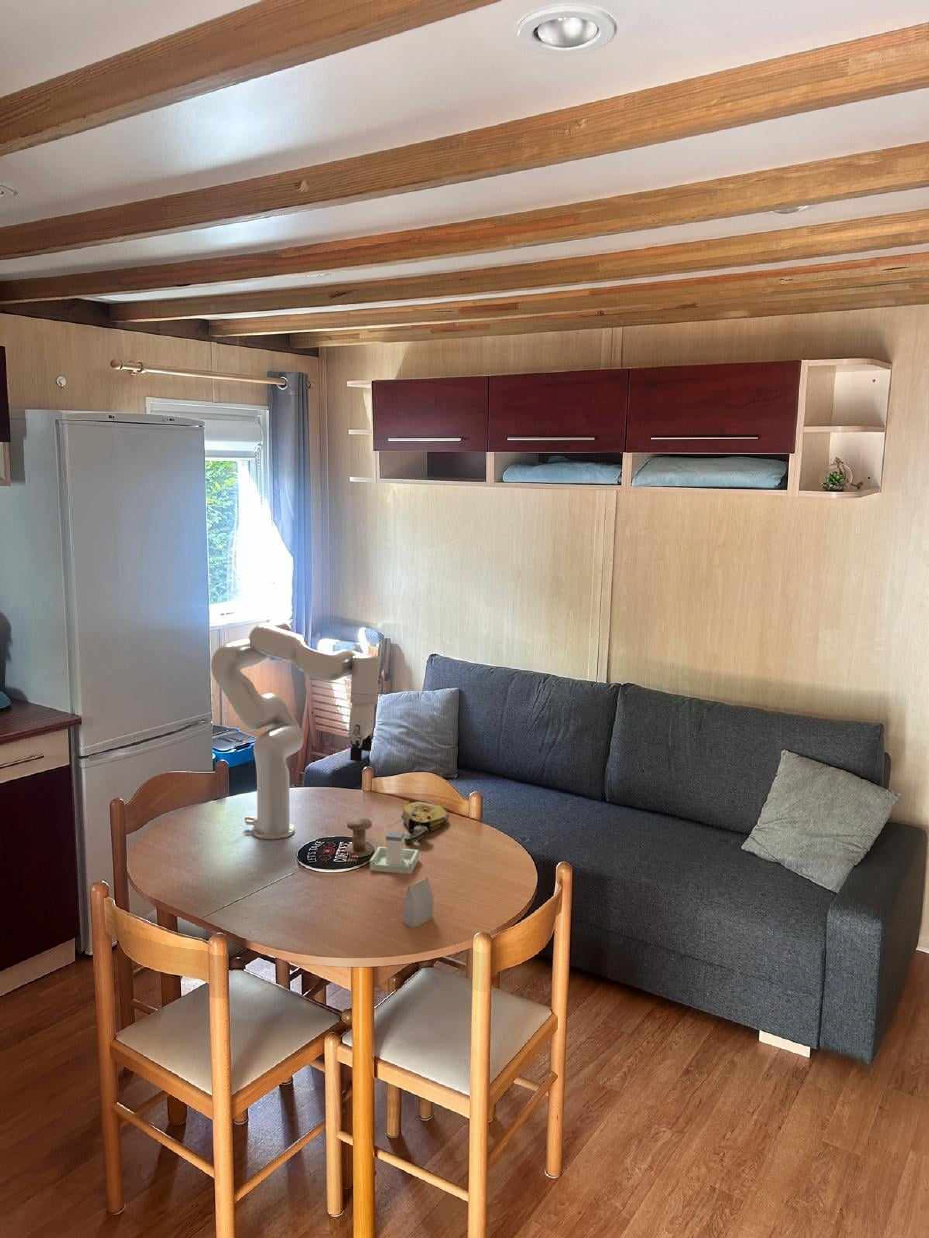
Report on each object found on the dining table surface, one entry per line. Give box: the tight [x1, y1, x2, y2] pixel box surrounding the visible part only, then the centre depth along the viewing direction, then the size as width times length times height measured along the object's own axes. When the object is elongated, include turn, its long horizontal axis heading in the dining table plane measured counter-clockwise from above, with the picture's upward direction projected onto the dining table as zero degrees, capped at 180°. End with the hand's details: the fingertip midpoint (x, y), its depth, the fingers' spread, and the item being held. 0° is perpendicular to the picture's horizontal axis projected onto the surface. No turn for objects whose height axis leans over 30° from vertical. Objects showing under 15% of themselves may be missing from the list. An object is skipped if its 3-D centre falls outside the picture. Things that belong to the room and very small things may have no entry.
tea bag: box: [402, 877, 434, 928], centre depth 231 cm, size 4×7×10 cm, turn 140°
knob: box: [344, 817, 374, 856], centre depth 271 cm, size 8×8×9 cm
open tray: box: [369, 846, 420, 875], centre depth 263 cm, size 12×10×3 cm
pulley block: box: [401, 799, 448, 844], centre depth 290 cm, size 14×6×30 cm
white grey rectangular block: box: [385, 830, 405, 865], centre depth 262 cm, size 4×4×8 cm
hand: (360, 755), depth 270 cm, fingers open, 9 cm apart
